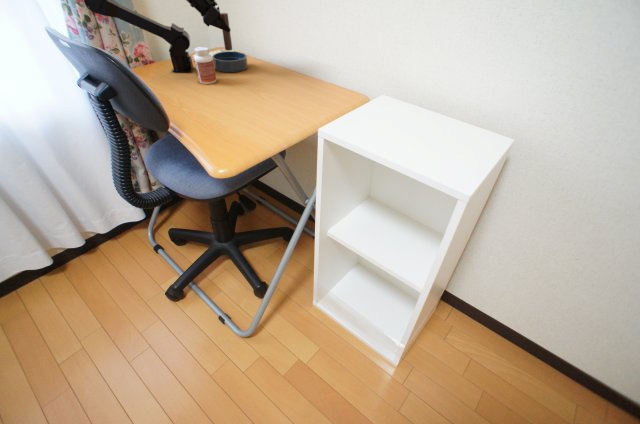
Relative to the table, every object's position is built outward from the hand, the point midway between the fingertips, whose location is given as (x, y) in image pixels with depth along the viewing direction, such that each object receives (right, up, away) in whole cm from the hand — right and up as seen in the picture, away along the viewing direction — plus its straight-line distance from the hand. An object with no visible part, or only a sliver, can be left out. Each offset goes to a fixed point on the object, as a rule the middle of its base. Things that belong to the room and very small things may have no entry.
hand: (229, 30), depth 117 cm
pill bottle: (-7, -21, -3) cm, 23 cm away
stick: (-2, -5, +4) cm, 7 cm away
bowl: (-2, -10, +9) cm, 14 cm away
